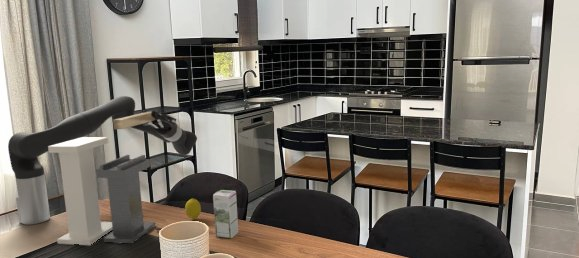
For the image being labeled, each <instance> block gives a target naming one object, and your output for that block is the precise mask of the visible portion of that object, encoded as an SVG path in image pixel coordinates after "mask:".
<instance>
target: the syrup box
mask: <svg viewBox="0 0 579 258" xmlns="http://www.w3.org/2000/svg"><path fill="white" fill-rule="evenodd" d="M236 191H237V190H225V189H220V190H218V191H216V192H215V193H213V195H212V201H213V214H214V228H215V237H216V238H223V239H232V238H234V237H235V236H236V235H238V234H239V222H238V207H237V203H238V202H237V201H238V200H237V192H236Z"/></svg>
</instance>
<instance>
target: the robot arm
mask: <svg viewBox="0 0 579 258" xmlns="http://www.w3.org/2000/svg"><path fill="white" fill-rule="evenodd" d="M135 109H136V101H135V99H134V98H133V97H131V96H128V95H127V96H126V95H124V96H123V95H121V96H118V97H115V98H113V99H111V100H108V101H106V102H105V103H103V104H100V105H98V106H96V107H94V108H90V109H88V110H86V111H82V112H78V113H76V114H74V115H71V116H68V117H67V118H65V119H63V120H62V121H60V122H58V124H56V125H54V126H53V127H50V128H48V129H44V130H41V131H38V132H37V131H36V132H26V131H25V132H24V131H23V132H22V131H21V132H17V133H15V134H13V135H12V136H11V137H10V138H9V139H8V140H9V141H8V147H7V148H8V149H7V150H8V156H9V161H10V166H11V170H12V172H13V174H14V177H15V183H16V189H17V190H16V192H17V196H16V198H15V201H16V207H17V216H18V222H19V223H21V224H22V225H28V226H29V225H38V224H40V223H44V222H47V221H48V220H50V219H51V214H50V205H49V200H48V197H49V196H48V191H47V184H46V176H45V175H46V174H45V168H44V166H43V165H42V164H41V163H40V162H39V159H38V157H40V156H42V155H43V154H46V153H48V152H49V150H48V146H51V145H55V144H59V143H63V142H66V141H70V140H74V139H77V138H81V137H87V136H89V135H90V134H93V133H94V132H95V131H97V130H98V129H99V128H100V127H101V126H102V125H103V124H104V123H105V122H106V121H107V120H108V119H110V118H112V121H113V120H115V119H119V118H124V117H128V116H132V115H135ZM151 111H152V112H151V116H152V117H154V118H155V119H157V120H153V121H150V122H146V123H143V124H139V125H136V126H132V127H130V128H132V129H134V130H138V131H142V132H144V133H147V134H149V135H151V136H153V137H155V138H157V139H159V140H161V141H164V143H171V144H172V146H173V147H172V148H173V149H174V150H175V151H176V153H178V154H179V155H181V156H187V155H189V154H190V153H191V151H192V149H193V148H194V146H195V144H197V140H198V137H197V135H196V134H195V133H194V132H193V131H190V130H189V131H188V130H185V129H183V128H181V127H180V126H179V124H178V123H177V118H174V117H172V116H171V115H168V114H166V113H164V114H161V113H159V114H158V113H157V112H156V111H157V110H155V109H152V110H151ZM145 112H148V111H147V110H142V112H141V113H145Z"/></svg>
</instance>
